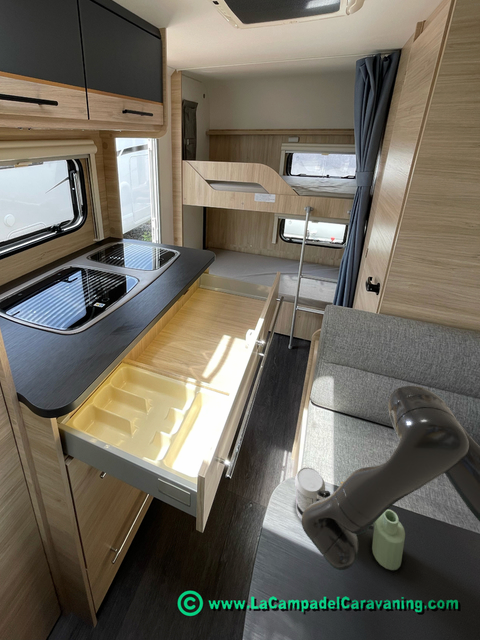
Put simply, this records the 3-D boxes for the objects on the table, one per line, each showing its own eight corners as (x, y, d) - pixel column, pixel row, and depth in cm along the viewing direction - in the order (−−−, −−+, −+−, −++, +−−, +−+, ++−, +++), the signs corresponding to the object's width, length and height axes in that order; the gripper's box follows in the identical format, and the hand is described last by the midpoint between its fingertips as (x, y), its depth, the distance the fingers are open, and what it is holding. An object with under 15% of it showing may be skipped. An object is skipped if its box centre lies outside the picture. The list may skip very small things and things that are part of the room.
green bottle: (403, 553, 86) (409, 513, 81) (397, 578, 82) (403, 537, 76) (376, 535, 91) (379, 496, 85) (369, 558, 86) (372, 519, 81)
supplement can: (293, 499, 103) (291, 466, 97) (319, 497, 102) (319, 464, 97) (300, 528, 95) (299, 494, 90) (328, 527, 94) (329, 492, 89)
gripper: (376, 514, 74) (379, 500, 87) (312, 483, 82) (323, 475, 95) (371, 552, 72) (375, 532, 85) (306, 517, 80) (319, 503, 93)
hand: (348, 502), depth 90 cm, fingers closed on vegetable, 4 cm apart
